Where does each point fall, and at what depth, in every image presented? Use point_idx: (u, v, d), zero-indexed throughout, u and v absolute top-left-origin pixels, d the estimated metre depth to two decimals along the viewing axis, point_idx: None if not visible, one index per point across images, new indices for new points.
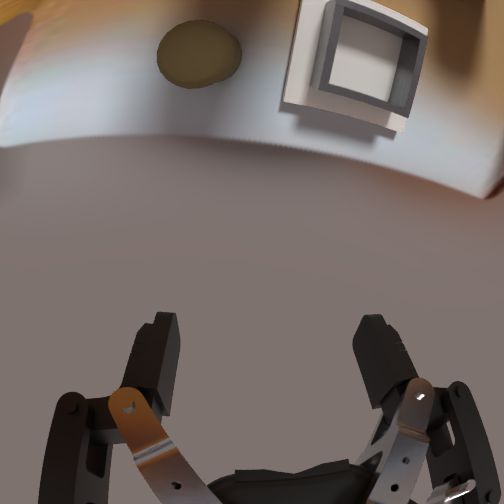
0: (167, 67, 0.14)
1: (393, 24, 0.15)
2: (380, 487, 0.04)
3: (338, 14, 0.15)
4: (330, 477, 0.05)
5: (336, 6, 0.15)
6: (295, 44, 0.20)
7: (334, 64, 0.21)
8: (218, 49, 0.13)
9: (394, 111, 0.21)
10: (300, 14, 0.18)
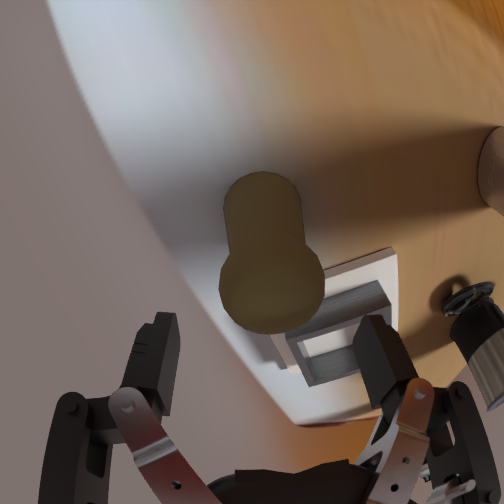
0: (242, 290, 0.12)
1: None
2: (380, 487, 0.04)
3: None
4: (330, 477, 0.05)
5: (380, 310, 0.21)
6: None
7: None
8: (292, 327, 0.13)
9: (307, 379, 0.26)
10: (354, 269, 0.23)
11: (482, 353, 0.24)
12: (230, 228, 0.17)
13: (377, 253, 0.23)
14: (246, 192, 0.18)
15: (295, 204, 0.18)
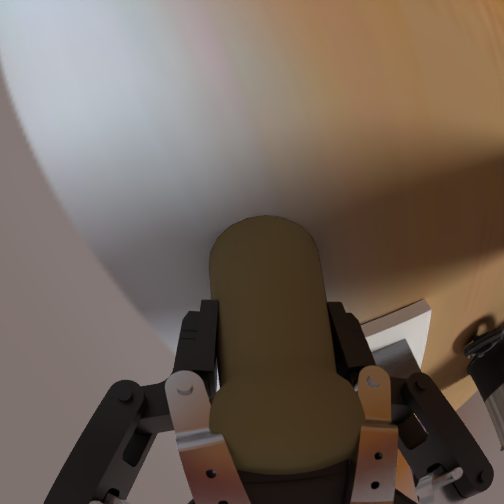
0: None
1: None
2: (380, 487, 0.04)
3: None
4: (330, 477, 0.05)
5: None
6: None
7: None
8: None
9: None
10: (380, 331, 0.17)
11: (502, 394, 0.18)
12: (217, 321, 0.10)
13: (408, 308, 0.17)
14: (241, 257, 0.12)
15: (316, 274, 0.12)
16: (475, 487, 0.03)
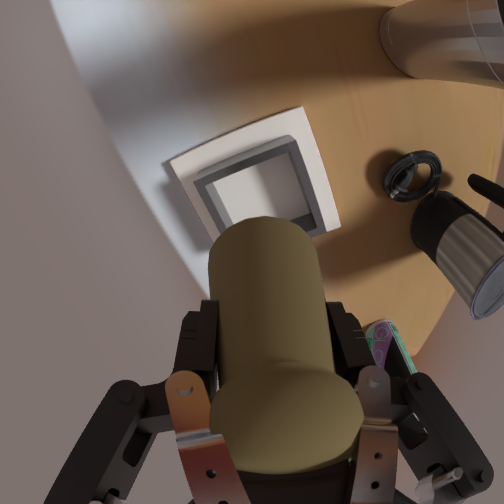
0: None
1: (309, 199, 0.24)
2: (380, 487, 0.04)
3: (277, 151, 0.22)
4: (330, 477, 0.05)
5: (284, 145, 0.22)
6: (227, 135, 0.24)
7: (233, 177, 0.27)
8: None
9: None
10: (260, 121, 0.24)
11: (448, 240, 0.24)
12: None
13: (285, 111, 0.24)
14: (240, 258, 0.12)
15: (315, 274, 0.12)
16: (475, 487, 0.03)
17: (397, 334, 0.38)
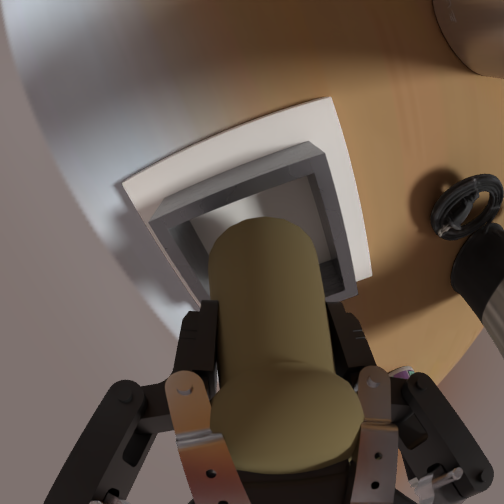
0: None
1: (338, 250, 0.15)
2: (380, 487, 0.04)
3: (291, 172, 0.13)
4: (330, 477, 0.05)
5: (304, 162, 0.12)
6: (207, 141, 0.15)
7: None
8: None
9: None
10: (262, 118, 0.14)
11: (503, 295, 0.15)
12: None
13: (302, 103, 0.15)
14: (240, 258, 0.12)
15: (315, 275, 0.12)
16: (475, 487, 0.03)
17: None
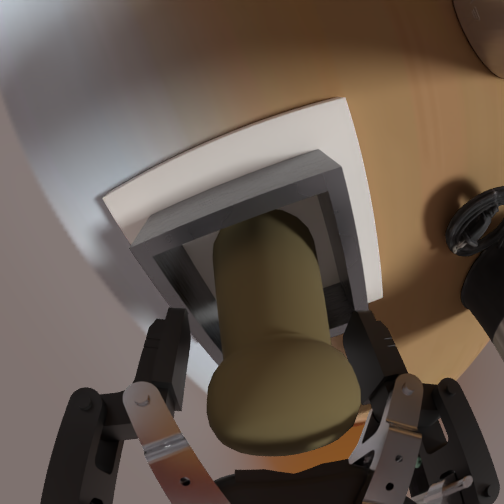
0: (241, 436, 0.06)
1: (351, 279, 0.13)
2: (380, 487, 0.04)
3: (300, 190, 0.10)
4: (330, 477, 0.05)
5: (317, 177, 0.10)
6: (199, 149, 0.13)
7: None
8: None
9: (209, 352, 0.15)
10: (264, 122, 0.12)
11: None
12: (220, 303, 0.11)
13: (311, 104, 0.12)
14: (242, 245, 0.13)
15: (311, 259, 0.13)
16: (480, 500, 0.03)
17: None
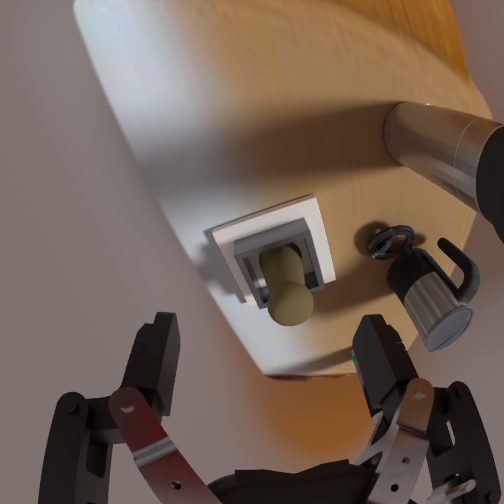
0: (280, 307, 0.28)
1: (315, 268, 0.35)
2: (380, 487, 0.04)
3: (296, 237, 0.32)
4: (330, 477, 0.05)
5: (301, 233, 0.32)
6: (257, 217, 0.35)
7: None
8: (299, 322, 0.30)
9: (256, 300, 0.37)
10: (283, 207, 0.34)
11: (413, 292, 0.35)
12: (267, 275, 0.33)
13: (302, 198, 0.34)
14: (274, 255, 0.34)
15: (299, 260, 0.34)
16: None
17: None
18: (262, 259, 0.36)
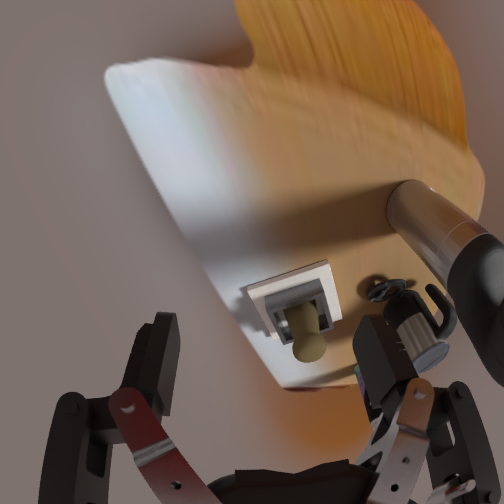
0: (302, 352, 0.38)
1: (327, 316, 0.44)
2: (380, 487, 0.04)
3: (313, 297, 0.42)
4: (330, 477, 0.05)
5: (317, 294, 0.41)
6: (283, 279, 0.44)
7: None
8: (315, 360, 0.39)
9: (281, 339, 0.47)
10: (303, 272, 0.43)
11: (402, 329, 0.44)
12: (291, 324, 0.43)
13: (318, 263, 0.44)
14: (296, 308, 0.44)
15: (315, 311, 0.44)
16: None
17: None
18: (286, 309, 0.45)
